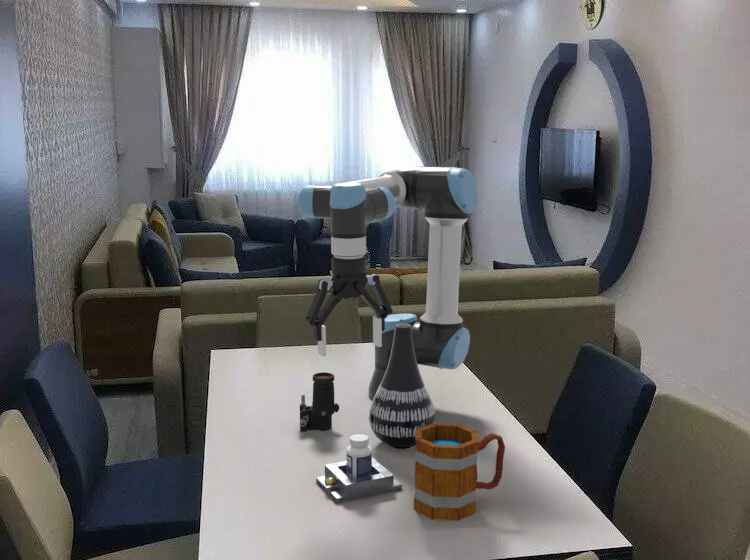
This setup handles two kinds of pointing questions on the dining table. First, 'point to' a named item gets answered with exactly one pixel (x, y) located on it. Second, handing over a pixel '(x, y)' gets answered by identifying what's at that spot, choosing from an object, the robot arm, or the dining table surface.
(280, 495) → the dining table surface
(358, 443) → the pill bottle
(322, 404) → the scope
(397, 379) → the vase
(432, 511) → the mug
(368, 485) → the coupler block
